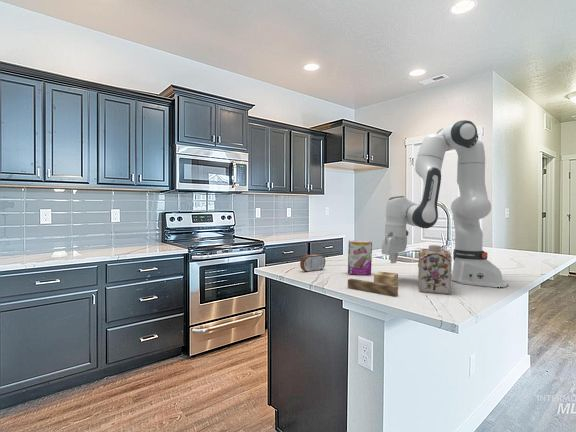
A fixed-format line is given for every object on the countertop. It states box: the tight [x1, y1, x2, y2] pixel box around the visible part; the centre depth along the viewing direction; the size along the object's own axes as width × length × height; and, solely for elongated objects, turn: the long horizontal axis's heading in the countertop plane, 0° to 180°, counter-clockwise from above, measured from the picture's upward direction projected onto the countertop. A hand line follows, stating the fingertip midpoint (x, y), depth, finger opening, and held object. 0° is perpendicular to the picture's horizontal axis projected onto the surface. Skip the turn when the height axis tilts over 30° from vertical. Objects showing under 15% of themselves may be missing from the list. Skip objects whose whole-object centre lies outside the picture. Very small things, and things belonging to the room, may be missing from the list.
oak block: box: [373, 271, 399, 286], centre depth 144 cm, size 8×8×5 cm
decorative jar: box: [417, 244, 453, 295], centre depth 137 cm, size 12×12×18 cm
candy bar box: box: [347, 240, 373, 276], centre depth 166 cm, size 11×5×16 cm, turn 84°
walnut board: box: [347, 278, 399, 298], centre depth 133 cm, size 20×2×4 cm, turn 51°
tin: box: [299, 253, 326, 273], centre depth 174 cm, size 15×3×8 cm, turn 124°
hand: (393, 263), depth 152 cm, fingers closed
